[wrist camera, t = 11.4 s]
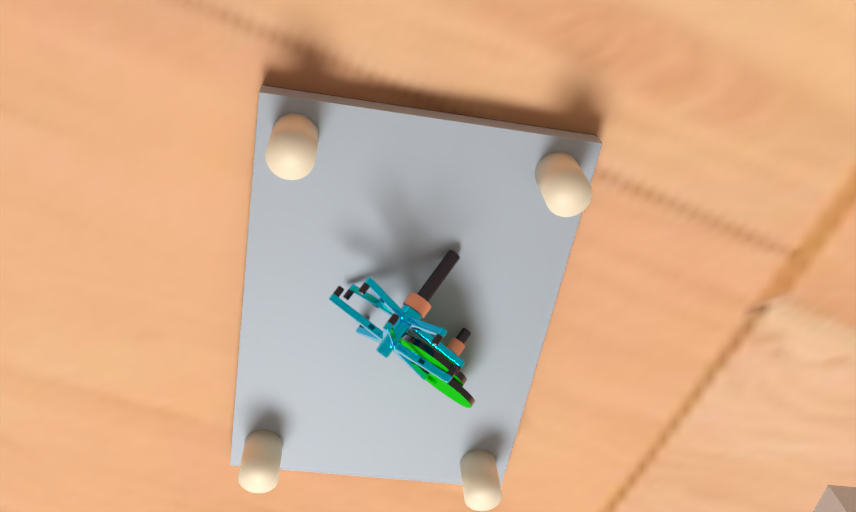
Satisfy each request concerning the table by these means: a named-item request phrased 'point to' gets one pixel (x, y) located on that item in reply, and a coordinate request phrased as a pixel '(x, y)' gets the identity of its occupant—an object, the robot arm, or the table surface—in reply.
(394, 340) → the teal multi-armed frame
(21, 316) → the table surface
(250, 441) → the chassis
